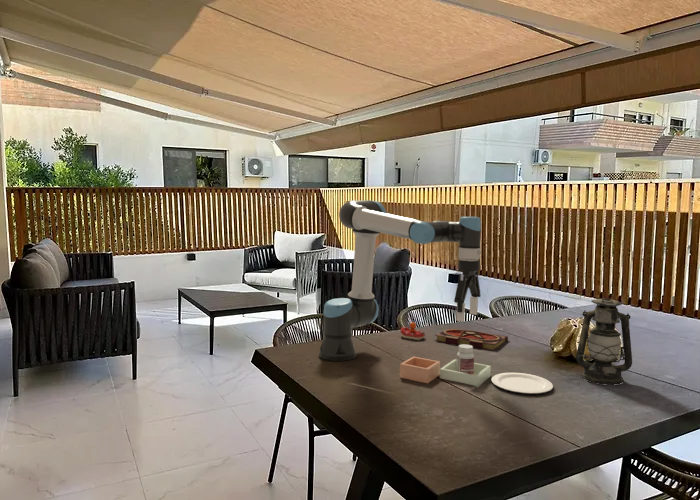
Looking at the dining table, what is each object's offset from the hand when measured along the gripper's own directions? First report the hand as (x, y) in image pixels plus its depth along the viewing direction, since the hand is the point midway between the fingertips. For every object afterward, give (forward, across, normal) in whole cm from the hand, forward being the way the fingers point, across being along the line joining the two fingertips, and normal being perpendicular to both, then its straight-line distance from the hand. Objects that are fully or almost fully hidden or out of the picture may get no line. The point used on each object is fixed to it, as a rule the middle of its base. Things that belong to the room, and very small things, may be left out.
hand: (467, 317), depth 190 cm
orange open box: (+23, -9, +14) cm, 28 cm away
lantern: (+23, +26, -43) cm, 55 cm away
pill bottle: (+22, 0, 0) cm, 22 cm away
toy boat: (+23, +40, +41) cm, 62 cm away
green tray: (+23, 0, 0) cm, 23 cm away
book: (+24, +51, +16) cm, 58 cm away
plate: (+23, +4, -20) cm, 30 cm away
